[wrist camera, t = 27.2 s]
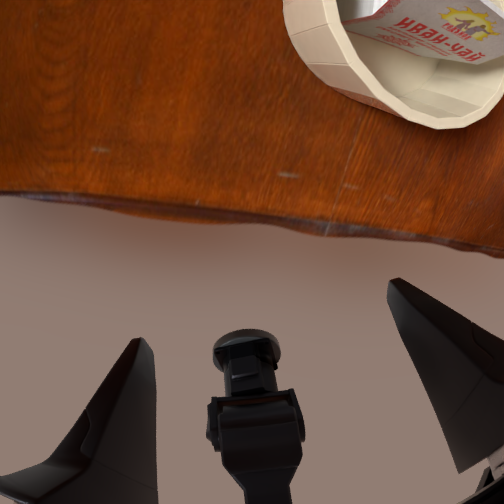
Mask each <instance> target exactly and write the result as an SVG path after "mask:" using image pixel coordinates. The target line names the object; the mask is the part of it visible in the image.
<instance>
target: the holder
mask: <svg viewBox="0 0 504 504" xmlns="http://www.w3.org/2000/svg"><path fill="white" fill-rule="evenodd" d="M490 1H491V2H492V3H493V4H495V5H496V6H497V7H498V8H500V9H501V10H502V11H503V12H504V0H490ZM283 13H284V20H285V25H286V28H287V31H288V35H289V37H290V39H291V41H292V44H293V46H294V48H295V49H296V51H297V53H298V54H299V56H300V57H301V59H302V60H303V61H304V63H305V64H306V65H307V67H308V68H309V69H310V70H311V71H312V72H313V73H314V74H315V75H316V76H317V77H318V78H319V79H321V80H322V81H323V82H324V83H325V84H327V85H328V86H330V87H331V88H333V89H334V90H336V91H338V92H339V93H341V94H343V95H345V96H347V97H349V98H351V99H353V100H355V101H358V102H361V103H364V104H367V105H370V106H373V107H375V108H378V109H381V110H384V111H386V112H389V113H391V114H394V115H396V116H399V117H401V118H404V119H406V120H409V121H412V122H415V123H418V124H421V125H425V126H428V127H431V128H434V129H452V128H463V127H466V126H468V125H470V124H472V123H474V122H476V121H478V120H480V119H482V118H484V117H485V116H486V115H487V114H488V113H489V112H490V111H491V110H492V109H493V107H494V106H495V105H496V104H497V103H498V102H499V100H500V99H501V98H502V96H503V93H504V55H503V56H500V57H497V58H494V59H491V60H489V61H486V62H483V63H480V64H478V65H476V64H471V63H466V62H460V61H453V60H447V59H439V58H431V57H422V56H416V55H414V54H411V53H409V52H406V51H404V50H401V49H399V48H396V47H393V46H391V45H388V44H385V43H382V42H379V41H376V40H373V39H370V38H367V37H364V36H361V35H358V34H354V33H351V32H347V31H345V29H344V27H343V26H342V24H341V21H340V16H339V12H338V7H337V3H336V0H283Z"/></svg>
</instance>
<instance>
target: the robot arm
mask: <svg viewBox="0 0 504 504" xmlns="http://www.w3.org/2000/svg"><path fill="white" fill-rule="evenodd" d="M387 302H388V305H389V307H390V310H391V312H392V315H393V318H394V320H395V323H396V326H397V328H398V331H399V334H400V336H401V338H402V341H403V343H404V345H405V347H406V349H407V351H408V353H409V355H410V357H411V359H412V361H413V363H414V366H415V368H416V370H417V372H418V374H419V376H420V378H421V381H422V383H423V385H424V387H425V390H426V392H427V394H428V396H429V399H430V401H431V403H432V406H433V408H434V411H435V413H436V415H437V418H438V420H439V423H440V425H441V428H442V430H443V433H444V436H445V438H446V441H447V443H448V446H449V449H450V451H451V454H452V457H453V460H454V463H455V465H456V468H457V471H458V473H459V474H460V473H462V472H464V471H465V470H467V469H469V468H471V467H472V466H474V465H475V464H477V463H479V462H480V461H482V460H483V459H485V458H487V460H488V463H489V465H490V466H489V467H487V468H486V469H485V470H484V473H483V475H482V477H481V480H480V482H479V485H478V487H477V490H476V492H475V493H474V494H473V495H471V496H469V497H468V498H466V499H464V500H463V501H461V502H459V503H457V504H504V340H502V339H500V338H498V337H496V336H495V335H493V334H491V333H489V332H488V331H486V330H484V329H483V328H481V327H479V326H478V325H476V324H475V323H473V322H471V321H470V320H468V319H467V318H465V317H464V316H462V315H461V314H459V313H457V312H456V311H454V310H453V309H451V308H449V307H448V306H446V305H444V304H443V303H441V302H440V301H438V300H436V299H435V298H433V297H432V296H430V295H428V294H427V293H425V292H423V291H422V290H420V289H418V288H417V287H415V286H413V285H412V284H410V283H408V282H407V281H405V280H403V279H401V278H395V279H392V280H390V281H389V283H388V290H387ZM214 355H215V357H216V359H217V360H218V362H219V364H220V366H221V368H222V370H223V372H224V380H225V381H224V382H225V395H226V397H212V401H211V403H210V404H209V405H208V406H207V407H208V421H207V430H206V438H207V439H208V440H209V441H211V442H212V445H213V446H214V450H215V452H221V457H222V464H223V466H224V467H225V469H226V470H227V471H228V472H229V474H230V475H231V476H232V477H233V479H234V480H235V481H236V482H237V483H238V484H239V486H240V487H241V488H242V489H243V491H244V497H245V504H292V499H291V493H290V487H289V485H290V483H291V480H292V478H293V476H294V474H295V472H296V469H297V467H298V466H299V464H300V461H301V459H302V455H303V454H302V447H301V442H304V441H305V425H304V420H303V416H302V412H301V410H300V407H299V404H298V401H297V398H296V395H295V392H294V389H288V390H284V391H278V388H277V383H276V377H275V373H274V371H275V370H277V369H278V365H277V361H276V358H275V354H274V350H273V347H272V343H271V339H270V338H262V339H257V340H252V341H248V342H243V343H238V344H233V345H228V346H223V347H218V348H215V349H214ZM0 495H2V496H5V497H7V498H9V499H12V500H14V504H158V491H157V465H156V379H155V365H154V355H153V351H152V349H151V348H150V347H149V345H148V344H147V342H146V341H145V340H144V338H141V337H140V338H134V339H132V340H131V341H130V343H129V344H128V346H127V347H126V348H125V350H124V352H123V353H122V354H121V356H120V357H119V359H118V360H117V361H116V363H115V364H114V366H113V367H112V369H111V370H110V372H109V373H108V375H107V376H106V378H105V379H104V381H103V382H102V384H101V385H100V387H99V388H98V390H97V391H96V393H95V394H94V396H93V397H92V399H91V400H90V402H89V403H88V405H87V406H86V409H84V411H83V413H82V414H81V416H80V417H79V418H78V420H77V421H76V423H75V424H74V426H73V427H72V429H71V430H70V432H69V433H68V434H67V435H66V437H65V438H64V439H63V440H62V442H61V443H60V444H59V446H58V447H57V448H56V450H55V451H54V452H53V453H52V455H51V456H50V457H49V458H48V459H47V460H45V461H44V462H42V463H40V464H37V465H35V466H32V467H29V468H26V469H24V470H21V471H18V472H15V473H12V474H9V475H5V476H0Z"/></svg>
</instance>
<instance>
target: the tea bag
mask: <svg viewBox="0 0 504 504" xmlns="http://www.w3.org/2000/svg"><path fill="white" fill-rule="evenodd" d="M336 3H337V7H338V12H339V16H340V21H341V24H342V26H343V27H344V29H345V31H347V32H351V33H354V34H358V35H361V36H364V37H367V38H370V39H373V40H376V41H379V42H382V43H385V44H388V45H391V46H393V47H396V48H399V49H401V50H404V51H406V52H409V53H411V54H414V55H416V56H422V57H431V58H439V59H447V60H453V61H460V62H466V63H471V64H476V65H478V64H480V63H483V62H486V61H489V60H491V59H494V58H497V57H500V56H503V55H504V12H503V11H502V10H501V9H500V8H498V7H497V6H496V5H495V4H493V3H492V2H491V1H490V0H336Z"/></svg>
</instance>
